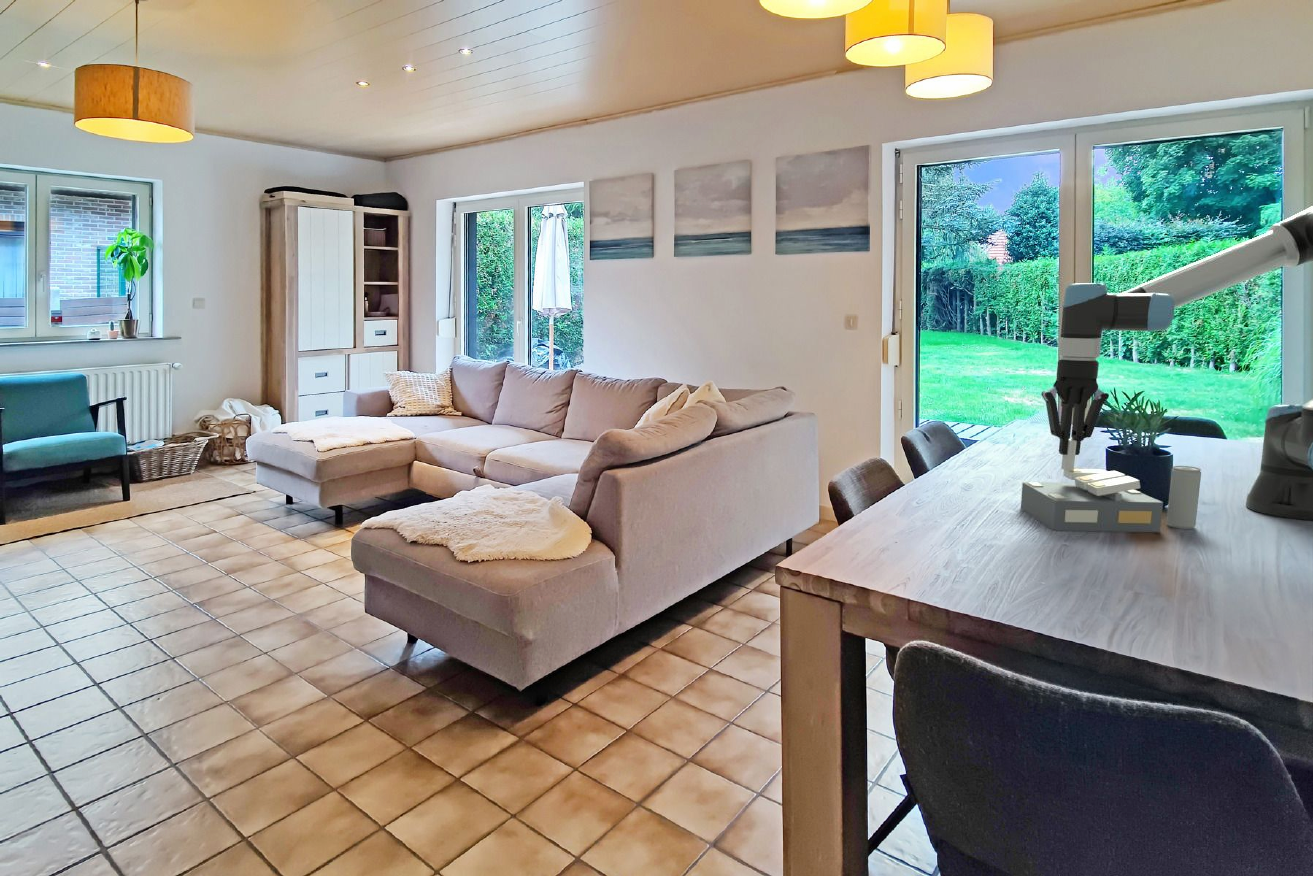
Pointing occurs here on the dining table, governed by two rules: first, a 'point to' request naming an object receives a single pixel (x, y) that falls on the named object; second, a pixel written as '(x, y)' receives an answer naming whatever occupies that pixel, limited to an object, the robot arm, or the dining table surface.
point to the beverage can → (1183, 497)
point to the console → (1090, 508)
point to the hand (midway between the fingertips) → (1067, 469)
